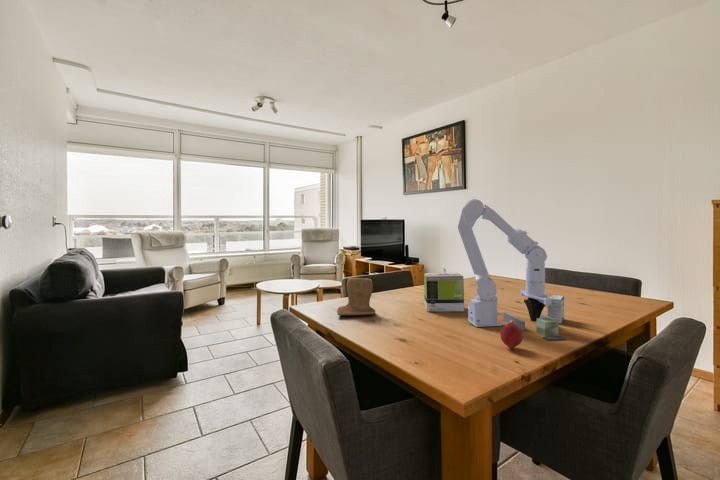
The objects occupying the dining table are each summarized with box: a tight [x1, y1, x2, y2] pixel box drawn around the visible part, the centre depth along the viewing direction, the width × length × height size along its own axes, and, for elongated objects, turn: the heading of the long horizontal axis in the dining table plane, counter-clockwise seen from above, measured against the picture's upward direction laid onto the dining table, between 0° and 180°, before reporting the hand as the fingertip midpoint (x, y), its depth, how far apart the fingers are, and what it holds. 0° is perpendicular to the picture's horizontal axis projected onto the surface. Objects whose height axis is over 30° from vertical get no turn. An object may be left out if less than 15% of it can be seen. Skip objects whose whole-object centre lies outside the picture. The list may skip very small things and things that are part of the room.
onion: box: [499, 320, 524, 350], centre depth 97 cm, size 6×6×8 cm
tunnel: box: [502, 311, 557, 331], centre depth 120 cm, size 12×12×3 cm
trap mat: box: [542, 335, 567, 342], centre depth 104 cm, size 6×2×1 cm, turn 95°
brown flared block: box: [336, 277, 377, 317], centre depth 136 cm, size 15×12×15 cm
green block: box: [535, 318, 560, 337], centre depth 109 cm, size 4×4×4 cm
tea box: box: [423, 272, 465, 312], centre depth 142 cm, size 15×10×15 cm, turn 84°
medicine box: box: [546, 294, 565, 325], centre depth 123 cm, size 8×4×9 cm, turn 143°
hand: (534, 321), depth 116 cm, fingers closed
